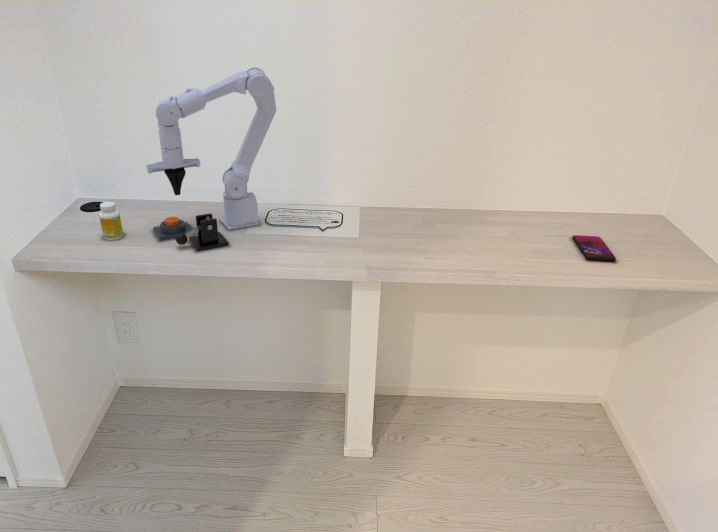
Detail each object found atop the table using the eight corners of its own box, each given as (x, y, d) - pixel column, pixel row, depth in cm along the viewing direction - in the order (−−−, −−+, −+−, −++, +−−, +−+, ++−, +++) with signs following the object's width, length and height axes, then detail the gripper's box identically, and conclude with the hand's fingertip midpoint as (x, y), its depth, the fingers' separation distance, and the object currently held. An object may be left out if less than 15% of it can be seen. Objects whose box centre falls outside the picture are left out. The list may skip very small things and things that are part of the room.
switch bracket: (196, 252, 155) (194, 225, 151) (188, 241, 162) (185, 215, 158) (228, 246, 159) (226, 220, 155) (219, 235, 165) (217, 209, 161)
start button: (177, 221, 167) (177, 215, 166) (181, 226, 164) (180, 220, 163) (164, 223, 165) (163, 217, 164) (167, 228, 162) (166, 223, 161)
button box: (187, 225, 171) (186, 215, 169) (194, 235, 165) (193, 225, 163) (153, 231, 167) (151, 221, 165) (159, 241, 161) (158, 231, 159)
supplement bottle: (117, 241, 161) (111, 208, 156) (99, 239, 162) (93, 206, 157) (126, 233, 165) (121, 201, 160) (109, 231, 166) (103, 199, 161)
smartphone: (599, 236, 165) (617, 259, 152) (599, 239, 166) (616, 262, 153) (572, 234, 166) (587, 257, 153) (571, 237, 166) (586, 260, 153)
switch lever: (180, 248, 155) (174, 239, 153) (177, 244, 158) (171, 235, 156) (215, 227, 157) (210, 218, 155) (212, 223, 160) (206, 214, 158)
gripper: (193, 140, 163) (198, 186, 170) (141, 145, 157) (148, 193, 164) (200, 146, 158) (205, 193, 164) (147, 152, 152) (154, 201, 159)
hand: (177, 194), depth 164 cm, fingers closed
